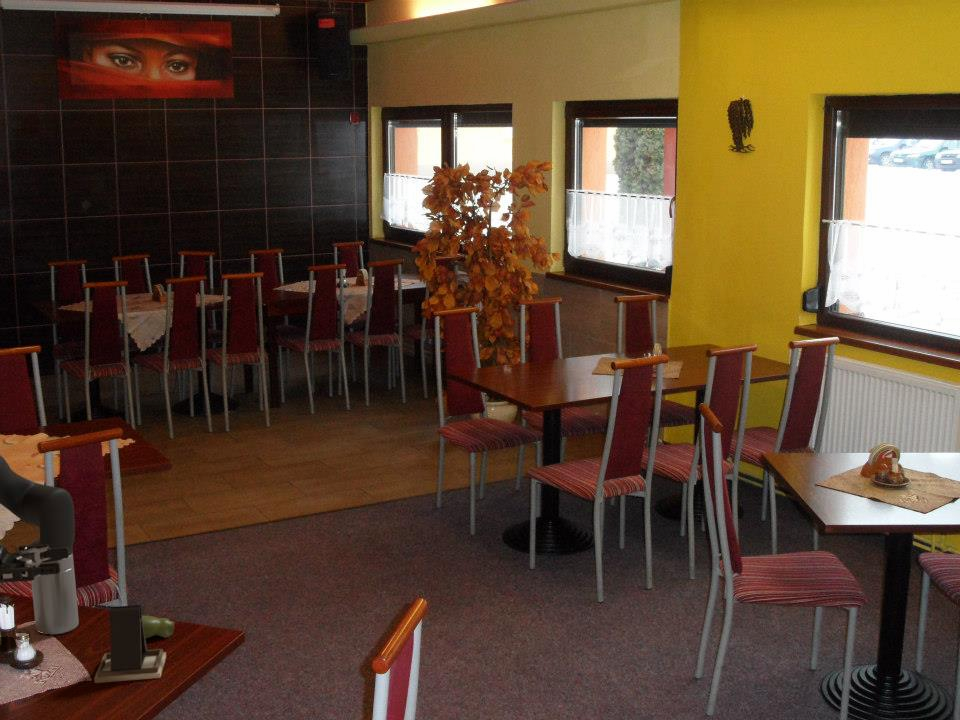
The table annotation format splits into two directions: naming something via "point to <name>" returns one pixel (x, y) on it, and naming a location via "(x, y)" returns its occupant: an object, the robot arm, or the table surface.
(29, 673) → the table surface
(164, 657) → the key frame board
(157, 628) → the pear
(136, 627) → the phone stand
